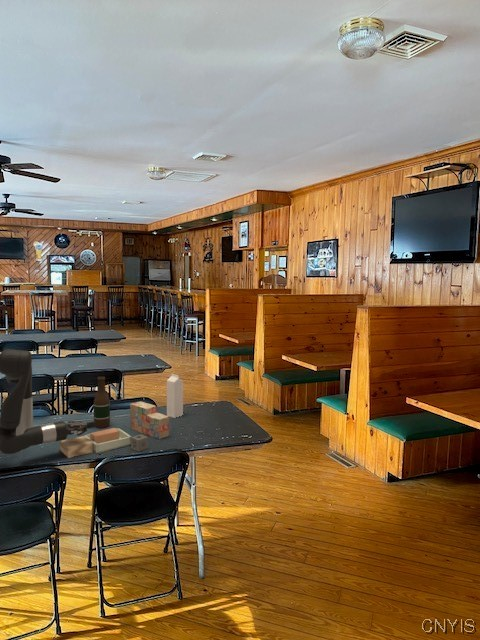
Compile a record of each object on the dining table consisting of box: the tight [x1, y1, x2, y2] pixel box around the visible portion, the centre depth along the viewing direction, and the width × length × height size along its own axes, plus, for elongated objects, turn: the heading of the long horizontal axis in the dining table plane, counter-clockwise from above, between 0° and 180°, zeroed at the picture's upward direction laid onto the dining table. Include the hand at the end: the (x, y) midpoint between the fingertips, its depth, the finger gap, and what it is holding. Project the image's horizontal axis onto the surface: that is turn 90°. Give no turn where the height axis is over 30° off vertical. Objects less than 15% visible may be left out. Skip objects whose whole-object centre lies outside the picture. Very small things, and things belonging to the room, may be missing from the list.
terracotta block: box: [89, 427, 119, 444], centre depth 198 cm, size 5×5×11 cm
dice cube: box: [130, 433, 149, 452], centre depth 195 cm, size 5×5×5 cm
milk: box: [166, 373, 184, 419], centre depth 238 cm, size 6×6×22 cm
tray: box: [83, 427, 133, 454], centre depth 199 cm, size 16×14×4 cm
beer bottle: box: [93, 376, 111, 429], centre depth 221 cm, size 8×8×24 cm
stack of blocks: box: [129, 401, 170, 440], centre depth 215 cm, size 21×6×12 cm, turn 49°
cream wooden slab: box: [59, 435, 94, 459], centre depth 191 cm, size 10×10×4 cm
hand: (94, 424), depth 195 cm, fingers closed
